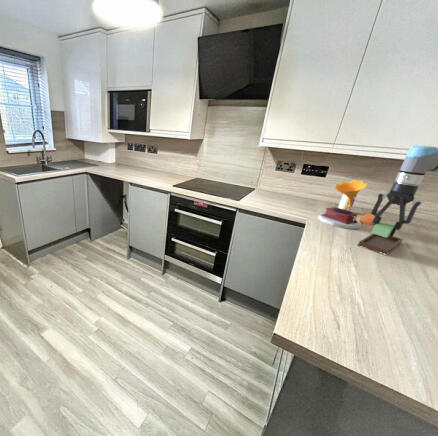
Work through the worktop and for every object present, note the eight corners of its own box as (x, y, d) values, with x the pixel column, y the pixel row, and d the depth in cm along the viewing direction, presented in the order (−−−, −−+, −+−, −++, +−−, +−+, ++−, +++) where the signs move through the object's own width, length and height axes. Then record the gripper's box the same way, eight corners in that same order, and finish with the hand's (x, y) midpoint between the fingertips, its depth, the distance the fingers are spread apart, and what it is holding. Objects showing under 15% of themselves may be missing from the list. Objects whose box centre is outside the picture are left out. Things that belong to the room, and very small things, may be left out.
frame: (401, 243, 117) (403, 239, 116) (385, 255, 104) (387, 250, 103) (375, 235, 125) (376, 231, 124) (357, 245, 111) (359, 241, 111)
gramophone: (332, 214, 152) (346, 176, 143) (368, 227, 135) (387, 184, 125) (310, 217, 145) (323, 177, 136) (345, 230, 128) (363, 186, 118)
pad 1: (364, 219, 147) (367, 213, 146) (376, 222, 143) (379, 216, 142) (359, 222, 142) (361, 215, 141) (370, 225, 138) (373, 219, 136)
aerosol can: (343, 213, 156) (355, 183, 149) (334, 209, 163) (345, 181, 155) (352, 213, 157) (364, 184, 150) (343, 209, 164) (354, 181, 156)
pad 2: (378, 229, 113) (381, 221, 112) (393, 233, 109) (397, 225, 107) (371, 232, 108) (374, 225, 106) (386, 237, 104) (390, 229, 102)
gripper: (375, 179, 105) (355, 226, 113) (437, 190, 91) (408, 243, 99) (380, 178, 109) (360, 224, 117) (440, 188, 94) (412, 239, 103)
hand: (382, 232), depth 108 cm, fingers closed on pad 2, 5 cm apart
